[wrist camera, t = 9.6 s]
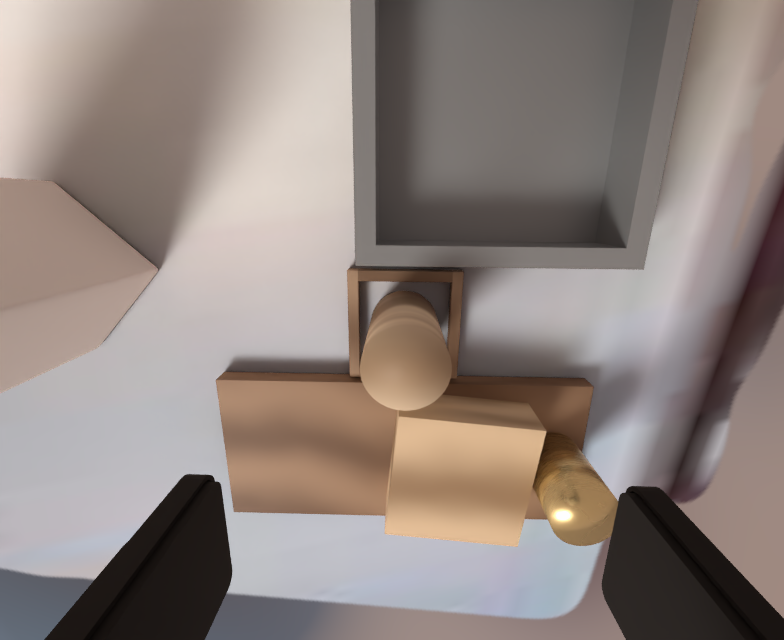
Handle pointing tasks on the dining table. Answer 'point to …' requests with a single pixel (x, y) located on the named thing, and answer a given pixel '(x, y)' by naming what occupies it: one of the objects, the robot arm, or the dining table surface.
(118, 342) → the dining table surface
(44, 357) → the milk carton
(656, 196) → the tray
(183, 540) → the robot arm
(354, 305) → the socket ring
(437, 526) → the thick square wood block
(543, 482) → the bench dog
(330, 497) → the board
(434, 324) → the dowel
